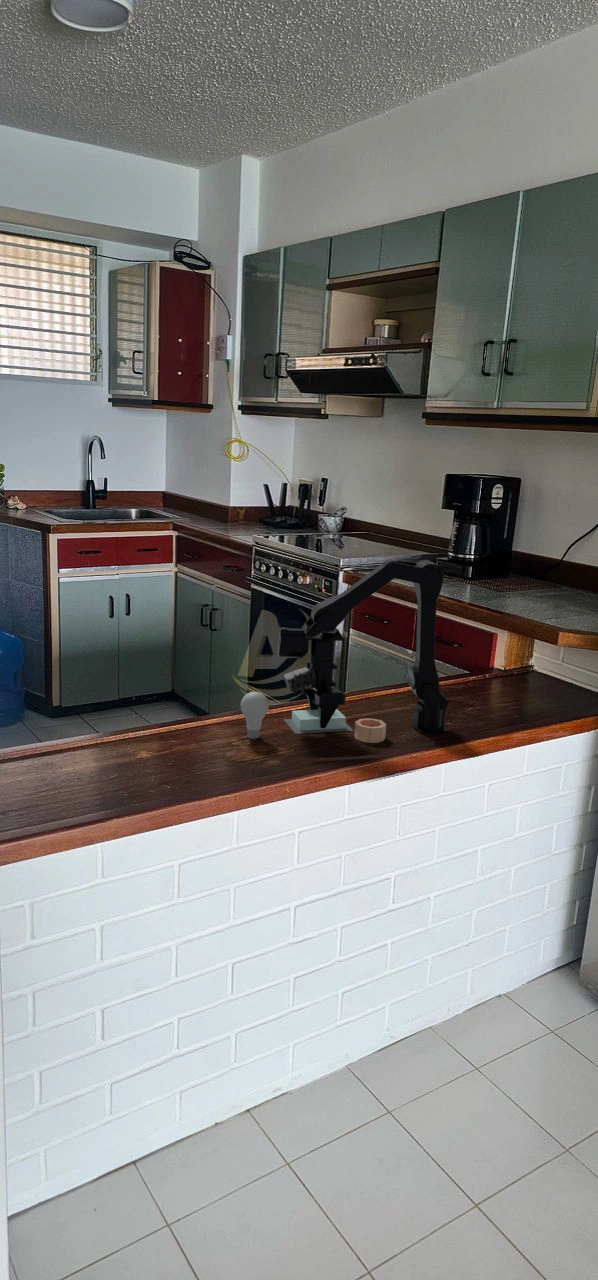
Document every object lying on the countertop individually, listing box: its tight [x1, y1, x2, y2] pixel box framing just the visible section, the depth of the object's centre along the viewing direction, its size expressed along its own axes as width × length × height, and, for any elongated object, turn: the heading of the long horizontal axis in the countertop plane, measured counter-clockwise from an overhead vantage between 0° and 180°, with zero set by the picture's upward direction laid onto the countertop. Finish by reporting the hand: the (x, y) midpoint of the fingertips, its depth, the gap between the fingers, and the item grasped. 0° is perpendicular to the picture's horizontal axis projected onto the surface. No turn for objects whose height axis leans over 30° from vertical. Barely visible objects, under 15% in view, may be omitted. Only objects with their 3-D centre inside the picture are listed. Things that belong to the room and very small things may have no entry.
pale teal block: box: [291, 708, 347, 731], centre depth 202 cm, size 11×7×3 cm, turn 106°
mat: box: [283, 718, 355, 735], centre depth 203 cm, size 14×10×1 cm
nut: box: [353, 718, 387, 744], centre depth 196 cm, size 7×7×4 cm
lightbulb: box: [240, 691, 270, 740], centre depth 191 cm, size 6×6×11 cm
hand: (318, 723), depth 203 cm, fingers closed on pale teal block, 7 cm apart
